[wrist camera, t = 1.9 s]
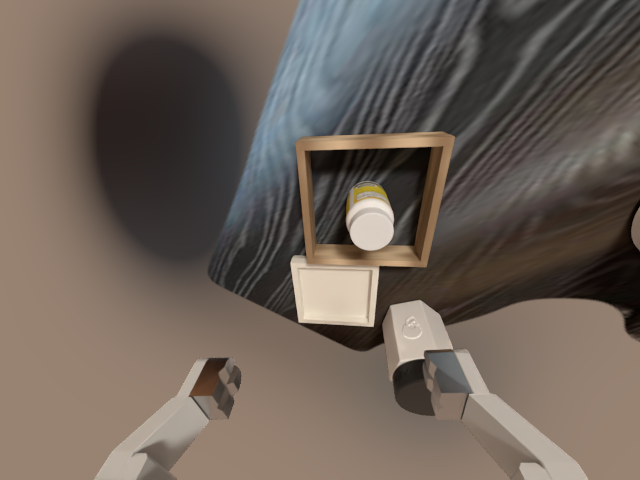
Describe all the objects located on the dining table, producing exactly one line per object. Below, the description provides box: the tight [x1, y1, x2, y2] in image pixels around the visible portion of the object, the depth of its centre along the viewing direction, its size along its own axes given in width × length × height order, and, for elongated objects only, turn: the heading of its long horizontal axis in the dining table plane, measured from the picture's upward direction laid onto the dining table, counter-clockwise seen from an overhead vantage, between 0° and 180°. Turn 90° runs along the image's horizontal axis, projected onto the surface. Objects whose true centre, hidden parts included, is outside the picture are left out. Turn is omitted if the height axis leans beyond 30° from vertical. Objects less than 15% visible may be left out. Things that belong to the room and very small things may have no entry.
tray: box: [291, 255, 379, 327], centre depth 36 cm, size 12×12×2 cm
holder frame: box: [296, 132, 455, 267], centre depth 28 cm, size 15×15×4 cm
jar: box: [382, 300, 453, 416], centre depth 33 cm, size 9×8×12 cm
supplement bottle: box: [346, 181, 394, 251], centre depth 26 cm, size 5×5×8 cm
